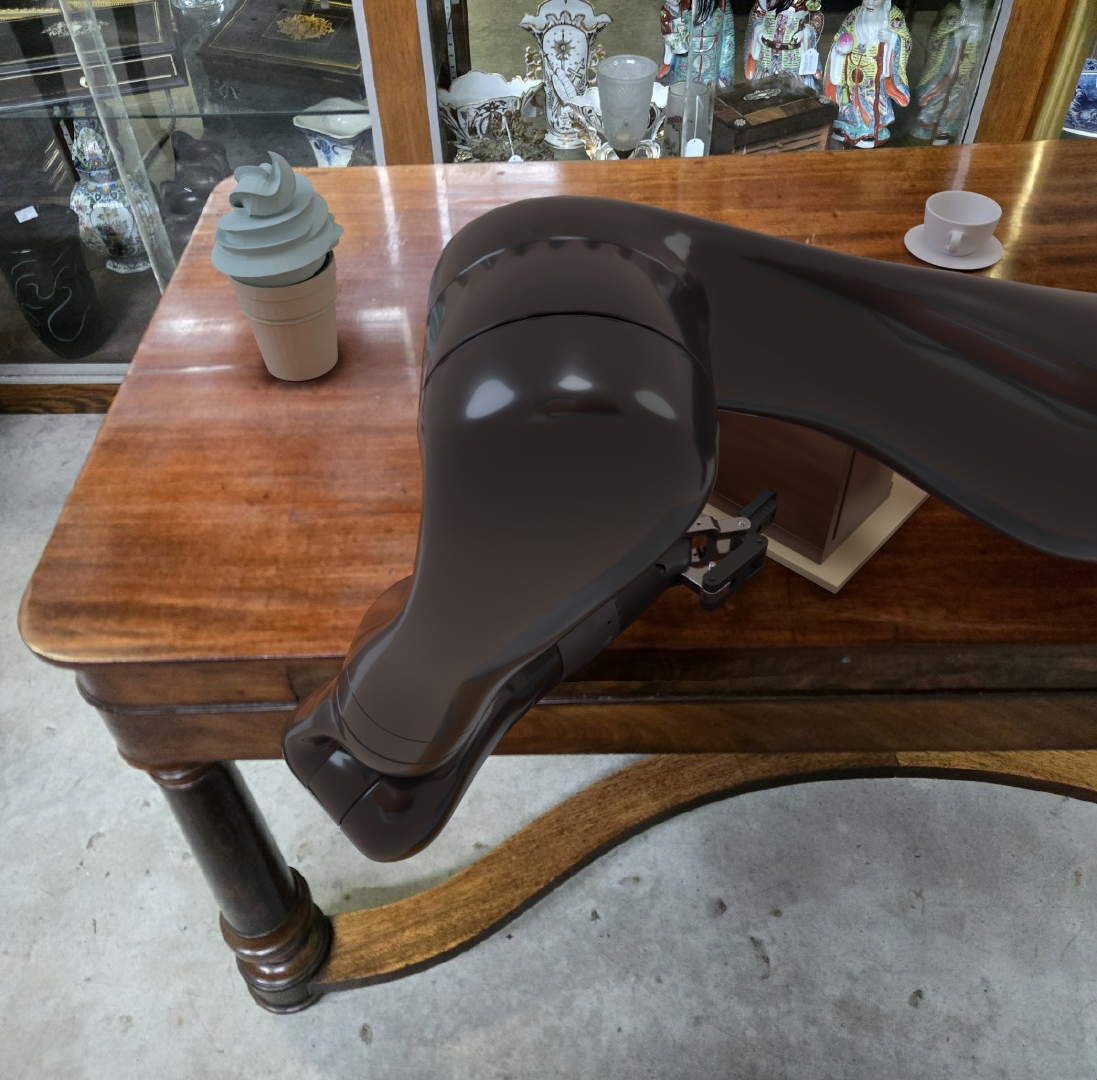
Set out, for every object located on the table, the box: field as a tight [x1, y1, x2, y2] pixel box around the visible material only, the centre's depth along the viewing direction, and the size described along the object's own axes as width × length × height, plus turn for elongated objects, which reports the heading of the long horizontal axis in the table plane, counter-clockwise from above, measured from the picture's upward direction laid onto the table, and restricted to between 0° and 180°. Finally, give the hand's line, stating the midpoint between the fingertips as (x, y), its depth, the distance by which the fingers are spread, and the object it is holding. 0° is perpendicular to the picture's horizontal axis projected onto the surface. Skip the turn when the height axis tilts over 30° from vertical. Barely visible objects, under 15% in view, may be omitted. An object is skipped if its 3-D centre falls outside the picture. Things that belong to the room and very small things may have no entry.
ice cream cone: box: [210, 150, 345, 382], centre depth 89 cm, size 10×11×20 cm
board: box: [699, 473, 931, 595], centre depth 86 cm, size 28×20×1 cm
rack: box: [707, 411, 894, 565], centre depth 78 cm, size 10×16×12 cm, turn 48°
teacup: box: [903, 190, 1004, 270], centre depth 107 cm, size 10×10×5 cm
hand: (720, 472), depth 74 cm, fingers open, 8 cm apart
